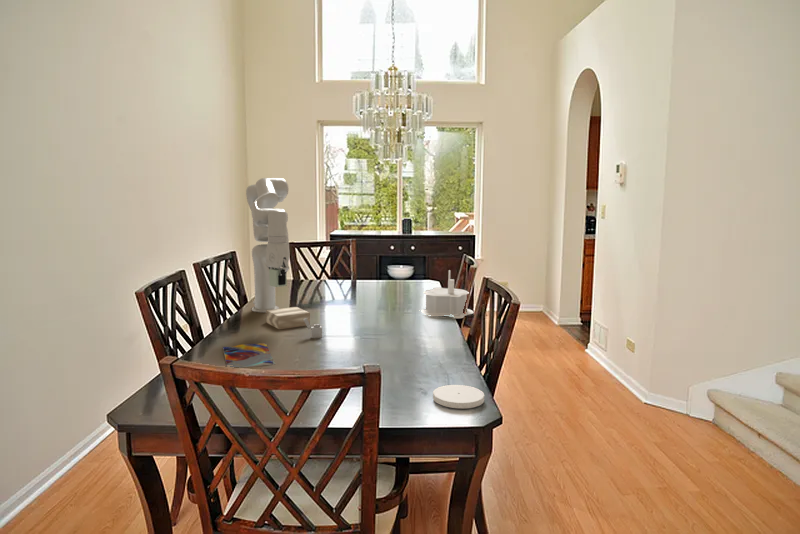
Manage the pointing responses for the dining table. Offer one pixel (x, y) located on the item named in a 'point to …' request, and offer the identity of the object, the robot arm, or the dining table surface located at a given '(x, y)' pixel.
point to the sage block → (275, 277)
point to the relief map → (248, 355)
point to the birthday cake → (446, 301)
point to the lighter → (314, 329)
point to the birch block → (287, 317)
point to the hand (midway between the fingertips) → (278, 283)
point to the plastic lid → (458, 396)
